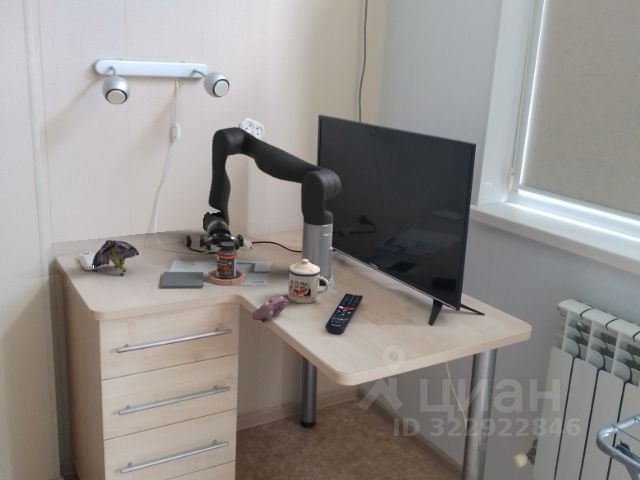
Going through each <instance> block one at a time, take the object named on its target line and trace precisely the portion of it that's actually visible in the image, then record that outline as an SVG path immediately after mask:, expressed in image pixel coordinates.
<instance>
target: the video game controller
mask: <svg viewBox="0 0 640 480" xmlns="http://www.w3.org/2000/svg"><path fill="white" fill-rule="evenodd" d="M289 304H290V301H289V300H288V299H287V298H286V297H283V295H281V296H273V297H271V298H270V299H269V300H268V301H265V303H263V304H262V305H261V306H260V307H259V308H257V309H256V310H254V311H253V312H252V313H251V318H252V319H253V320H255V321H259V320H262V319H264V318H265V319H266V320H267V321H268V320H270V319H271V318H273V316H275V317H277V316H278V315H280V314H281V312H282V311H284V310H285V309H286V308H287V306H289Z"/></svg>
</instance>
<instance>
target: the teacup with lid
mask: <svg viewBox="0 0 640 480" xmlns="http://www.w3.org/2000/svg"><path fill="white" fill-rule="evenodd" d="M301 260H302V262H301V261H300V262H297V263H294V264H291V265H290V266H289V267H288V273H289V274H288V299H289V300H290V301H292V302H295V303H297V304H311V303H314V302H317V301H318V299H319V295H323V294H325V293H326V292H327V291H328V289H329V287H330V282H329V280H328V278H327V277H326V278H324V277H319V276H320V272H321V271H320V268H319V267H318V266H316V265H313V264H311V263H309V261H308V260H307V259H302V258H301ZM320 281H323V282H324V283H325V288H324V289H323V290H320Z"/></svg>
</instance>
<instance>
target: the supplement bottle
mask: <svg viewBox="0 0 640 480" xmlns="http://www.w3.org/2000/svg"><path fill="white" fill-rule="evenodd" d="M237 255H238V254H237V250H235V248H234V244H233V243H232V242H222V243H221V246H220V248H219V249H218V250H217V252H216V269H217V275H216V278H217V279H222V280H231V279H236V278H237V275H236V270H237V262H238V260H237V259H238V257H237Z"/></svg>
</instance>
